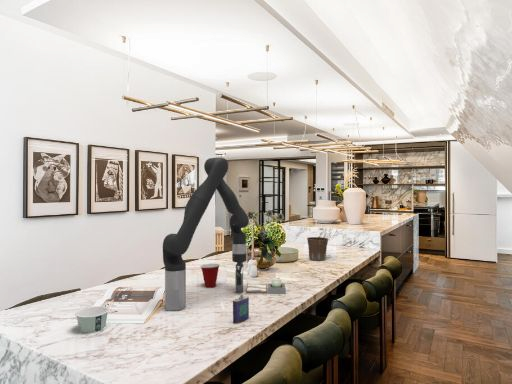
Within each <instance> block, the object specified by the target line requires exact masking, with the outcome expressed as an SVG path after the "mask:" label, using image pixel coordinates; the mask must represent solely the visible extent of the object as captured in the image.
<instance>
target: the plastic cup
mask: <svg viewBox="0 0 512 384" xmlns="http://www.w3.org/2000/svg"><path fill="white" fill-rule="evenodd" d="M220 265H221V264H220V263H205V264H201V265H200V266H199V267H200V268H201V272H202V277H203V282H204V287H206V288H208V289H211V288H212V289H213V288H215V287H216V285H217V281H218V280H217V279H218V273H219V269H220V268H219V267H220Z"/></svg>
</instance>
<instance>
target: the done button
mask: <svg viewBox="0 0 512 384" xmlns="http://www.w3.org/2000/svg"><path fill="white" fill-rule="evenodd" d="M271 283H272V287H281V284H282V280H281V279H272V280H271Z"/></svg>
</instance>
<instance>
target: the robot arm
mask: <svg viewBox="0 0 512 384" xmlns="http://www.w3.org/2000/svg"><path fill="white" fill-rule="evenodd" d="M203 168H204V172H205V174H206V175H207V176H206V178H205V180H204V181H203V182H202V183H201V184H200V185H199V186H198V187H197V188H196V189H195V190H194V191H193V192H192V193H191V195H190V197H189V198H188V200H187V203H186V204H185V207H184V215H183V221H182V224H181V226H180V227H179V229H178V231H177V233H168V234H166V236H165V237H164V239H163V241H162V263H163V265H164V308H165V311H181V310H184V309H186V307H187V303H186V302H187V300H186V299H187V296H186V295H187V284H186V282H187V280H186V279H187V277H186V276H187V266H186V265H187V264H186V262H185V261H184V259H183V256H182V255H184V254H186V252H187V251H188V249H189V248H190V245H191V242H192V240H193V237H194V234H195V233H196V229H197V228H198V225H199V224H200V222H201V220H202V218H203V216H204V214H205V212H206V210H207V208H208V207H209V204H210V202H211V200H212V198H213V196H214V195H215V192H216V191H217V193H218V194H219V196H220V197H221V200H222V203H223V204H224V206H225V209H226V211H227V212H228V213H229V214H231V216H230V218H229V226H230V232H231V234H232V235H231V236H232V247H231V251H232V253H231V254H232V255H231V256H232V257H231V258H232V259H231V261H232V262H234V263H236V264H235V271H236V278H237V285H241V277H242V276H241V274H242V272H243V273H244V266H245V265H244V263H245V262H247V259H248V258H247V257H248V255H247V252H248V251H247V249H248V248H247V234H246V233H245V232H244V231H243V230H242V229H245V228H246V227H247V226H248V225H249V222H250V221H249V216H248V214H247V212H246V211H245V210H244V209H243V207H242V206H241V205H240V202H239V200H238V198H237V196H236V193H235V192H234V191H233V190H232V189H231V187H230V186H229V185H228V184H227V182H226V181H225V180H224V178H225V176H226V174H227V173H228V170H229V161H228V160H227V159H226V158H225V157H210V158H208V159H206V160H205V162H204V166H203ZM233 224H234V225H233ZM238 274H240V275H238Z"/></svg>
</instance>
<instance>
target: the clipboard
mask: <svg viewBox="0 0 512 384" xmlns="http://www.w3.org/2000/svg"><path fill="white" fill-rule="evenodd" d="M245 294H264V295H265V294H268V283H247V284H246V289H245Z"/></svg>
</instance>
